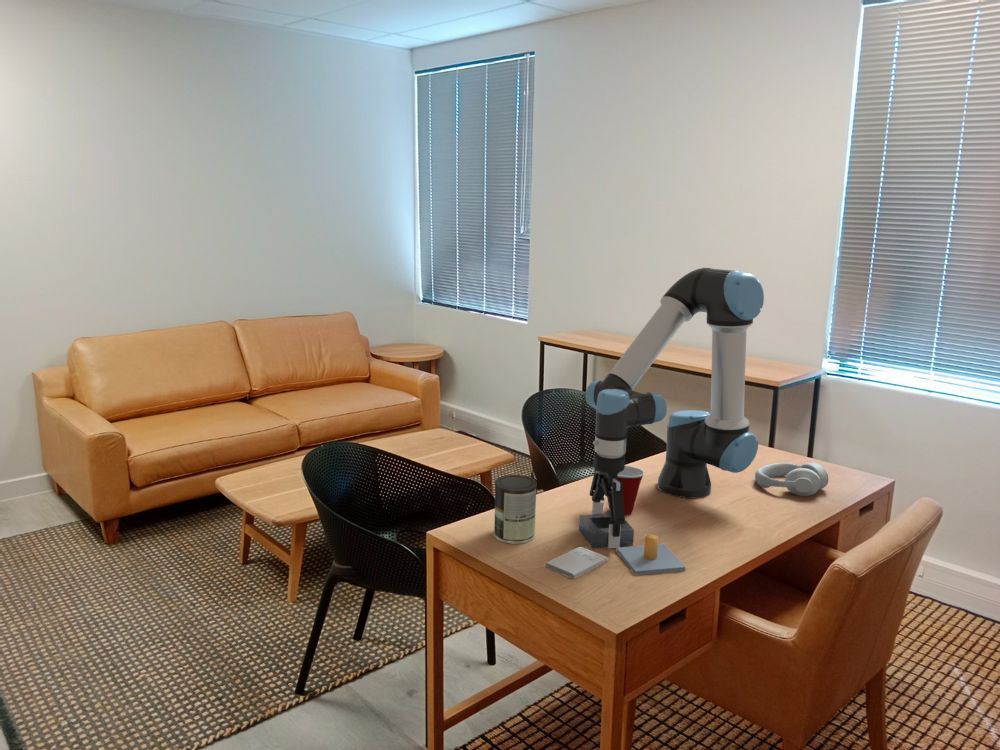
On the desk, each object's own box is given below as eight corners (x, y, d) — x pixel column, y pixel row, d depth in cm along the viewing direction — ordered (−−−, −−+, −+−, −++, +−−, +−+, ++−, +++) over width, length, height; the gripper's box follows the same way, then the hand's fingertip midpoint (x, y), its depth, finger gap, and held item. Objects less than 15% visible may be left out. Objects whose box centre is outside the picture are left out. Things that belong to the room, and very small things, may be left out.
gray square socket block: (617, 527, 200) (618, 512, 199) (633, 545, 190) (634, 529, 189) (578, 530, 198) (579, 515, 197) (591, 548, 188) (592, 532, 187)
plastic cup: (648, 509, 212) (651, 467, 209) (633, 522, 203) (636, 479, 200) (611, 500, 217) (613, 459, 215) (595, 513, 208) (597, 471, 205)
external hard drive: (545, 568, 178) (578, 551, 187) (573, 581, 172) (606, 562, 181) (545, 562, 178) (579, 545, 186) (574, 574, 172) (607, 556, 181)
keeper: (663, 547, 189) (665, 524, 187) (685, 570, 177) (687, 546, 176) (616, 551, 186) (617, 528, 185) (635, 575, 175) (636, 550, 173)
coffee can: (485, 537, 193) (486, 483, 189) (508, 523, 201) (510, 471, 198) (520, 548, 187) (522, 492, 184) (543, 533, 195) (544, 480, 192)
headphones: (837, 486, 230) (773, 478, 244) (836, 460, 229) (772, 453, 243) (811, 502, 217) (745, 492, 231) (810, 475, 216) (744, 467, 230)
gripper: (579, 439, 199) (575, 518, 204) (612, 471, 176) (606, 559, 181) (607, 437, 201) (603, 516, 206) (643, 469, 178) (637, 557, 183)
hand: (604, 536), depth 194 cm, fingers open, 12 cm apart
